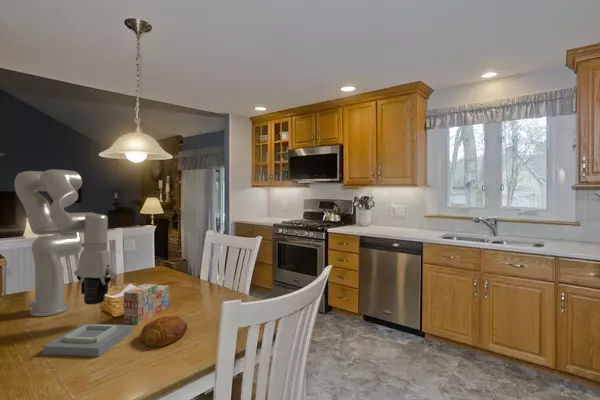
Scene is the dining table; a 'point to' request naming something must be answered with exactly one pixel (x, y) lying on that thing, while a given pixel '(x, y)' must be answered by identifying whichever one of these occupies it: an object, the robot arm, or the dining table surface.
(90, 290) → the supplement bottle
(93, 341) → the base plate
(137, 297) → the stack of blocks
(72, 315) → the dining table surface
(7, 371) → the dining table surface
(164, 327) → the croissant
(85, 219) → the robot arm
